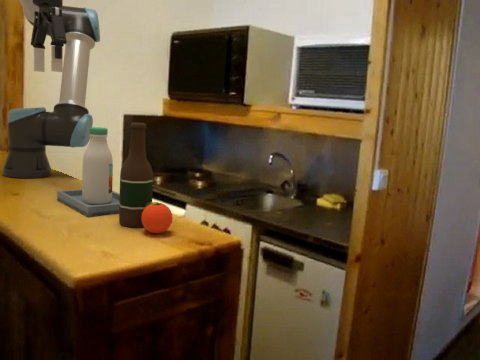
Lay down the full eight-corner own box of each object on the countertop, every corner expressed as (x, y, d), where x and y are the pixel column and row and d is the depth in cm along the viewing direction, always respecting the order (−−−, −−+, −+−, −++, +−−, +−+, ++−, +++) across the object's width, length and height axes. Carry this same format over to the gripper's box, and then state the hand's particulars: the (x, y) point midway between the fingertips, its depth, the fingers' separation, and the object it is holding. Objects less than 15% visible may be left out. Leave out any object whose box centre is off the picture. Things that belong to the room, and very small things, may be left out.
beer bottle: (140, 217, 113) (143, 121, 109) (158, 225, 107) (162, 124, 103) (112, 221, 107) (114, 121, 103) (129, 230, 102) (132, 124, 98)
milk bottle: (103, 206, 117) (104, 129, 114) (76, 203, 119) (77, 127, 115) (117, 200, 125) (118, 128, 121) (91, 197, 126) (92, 125, 123)
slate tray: (57, 200, 124) (57, 191, 124) (104, 195, 134) (104, 187, 133) (87, 217, 110) (88, 207, 109) (138, 210, 119) (139, 201, 119)
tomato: (131, 230, 102) (132, 200, 101) (155, 225, 107) (156, 196, 106) (154, 239, 97) (155, 207, 96) (178, 233, 102) (179, 203, 101)
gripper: (18, -7, 128) (19, 70, 131) (50, -19, 110) (50, 70, 113) (45, -1, 133) (45, 72, 136) (80, -12, 115) (79, 73, 118)
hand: (47, 71), depth 125 cm, fingers open, 13 cm apart
